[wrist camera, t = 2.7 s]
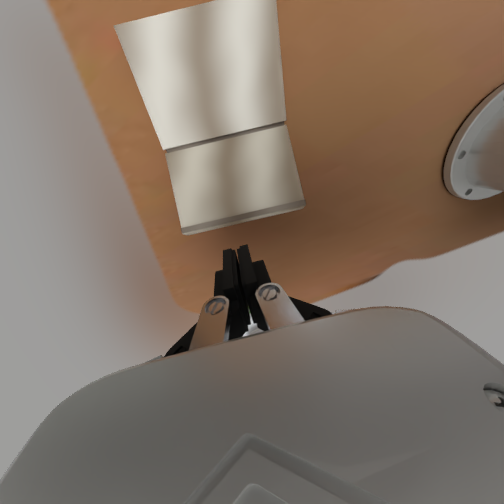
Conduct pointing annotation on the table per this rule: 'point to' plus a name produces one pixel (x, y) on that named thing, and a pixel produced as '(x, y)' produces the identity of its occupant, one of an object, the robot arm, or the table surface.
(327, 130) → the table surface
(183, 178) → the plank
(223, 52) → the laid board
